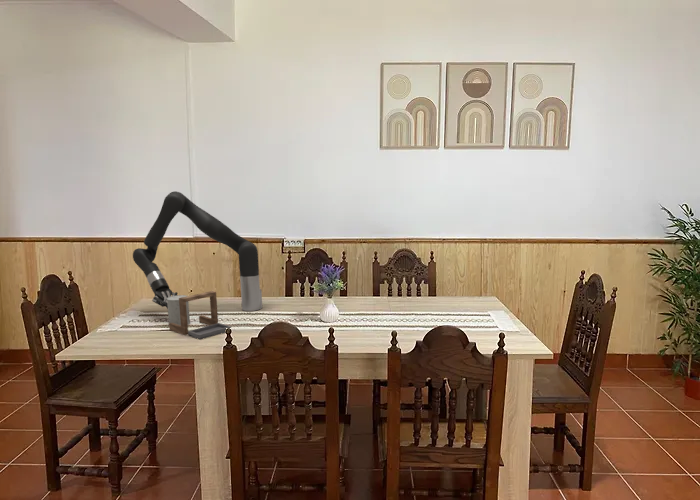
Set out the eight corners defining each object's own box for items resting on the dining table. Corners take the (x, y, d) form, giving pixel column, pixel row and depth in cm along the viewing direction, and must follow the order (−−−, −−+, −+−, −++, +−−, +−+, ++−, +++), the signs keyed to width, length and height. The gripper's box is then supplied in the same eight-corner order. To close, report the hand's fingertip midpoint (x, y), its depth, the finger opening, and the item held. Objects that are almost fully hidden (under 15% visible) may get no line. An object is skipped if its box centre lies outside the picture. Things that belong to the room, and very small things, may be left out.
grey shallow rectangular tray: (219, 327, 282) (219, 322, 281) (231, 330, 275) (230, 326, 275) (188, 335, 270) (187, 331, 270) (199, 339, 264) (199, 335, 264)
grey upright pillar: (168, 327, 284) (166, 300, 282) (168, 321, 293) (166, 296, 291) (190, 325, 286) (188, 299, 284) (190, 319, 295) (188, 294, 293)
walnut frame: (202, 321, 292) (199, 288, 289) (218, 326, 283) (216, 291, 280) (169, 329, 280) (166, 294, 277) (185, 335, 271) (182, 299, 268)
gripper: (147, 280, 292) (162, 310, 286) (172, 275, 301) (188, 304, 295) (142, 289, 297) (157, 319, 290) (167, 284, 306) (182, 313, 300)
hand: (172, 311), depth 293 cm, fingers closed
